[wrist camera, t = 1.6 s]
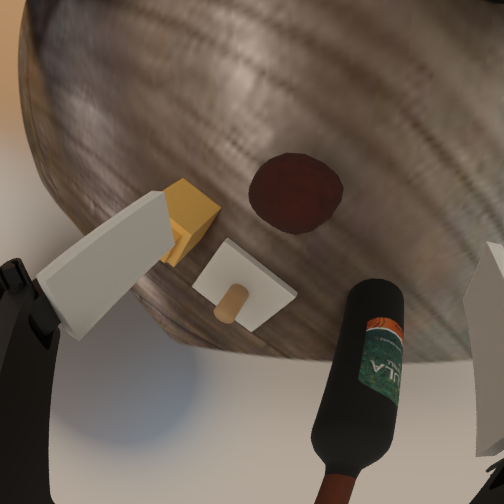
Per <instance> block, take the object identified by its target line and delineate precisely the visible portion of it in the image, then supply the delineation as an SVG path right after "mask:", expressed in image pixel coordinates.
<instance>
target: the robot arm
mask: <svg viewBox="0 0 504 504" xmlns="http://www.w3.org/2000/svg"><path fill="white" fill-rule="evenodd" d="M174 245H175V242H174V237H173V232H172V228H171V223H170V218H169V213H168V208H167V203H166V198H165V192H160V191H151V192H149V193H148V194H146V195H144V196H143V197H141V198H140V199H138V200H137V201H135V202H134V203H132V204H131V205H129V206H128V207H126V208H125V209H123V210H122V211H120V212H119V213H117V214H116V215H114V216H113V217H111V218H110V219H109V220H107V221H106V222H104V223H103V224H102V225H100V226H99V227H97V228H96V229H95V230H93V231H92V232H90V233H89V234H88V235H86V236H85V237H84V238H82V239H81V240H80V241H78V242H77V243H76V244H74V245H73V246H72V247H70V248H69V249H68V250H67V251H65V252H64V253H63V254H61V255H60V256H59V257H58V258H56V259H55V260H54V261H53V262H52V263H50V264H49V265H48V266H47V267H46V268H44V269H43V270H42V271H41V272H39V273H38V274H37V275H36V279H34V280H33V281H31V279H30V277H29V275H28V273H27V271H26V269H25V267H24V265H23V263H22V260H21V259H20V258H14V259H12V260H9V261H7V262H6V263H4V264H3V265H2V266H1V267H0V504H55V503H54V502H53V501H52V498H51V495H50V485H49V459H48V458H49V457H48V447H49V418H50V405H51V393H52V384H53V376H54V369H55V362H56V356H57V350H58V344H59V339H60V330H59V328H58V325H59V324H60V323H62V325H63V326H64V328H65V329H66V331H67V333H68V334H70V335H71V336H73V337H74V338H76V339H77V340H79V341H80V340H81V338H83V337H84V335H85V334H86V333H87V332H88V331H89V330H90V329H91V328H92V327H93V326H94V325H95V324H96V323H97V322H98V321H99V320H100V319H101V317H102V316H103V315H104V314H105V313H106V312H107V311H108V310H109V309H110V308H111V307H112V306H113V305H114V304H115V303H116V302H117V301H118V300H119V299H120V298H121V297H122V296H123V295H124V294H125V293H126V292H127V291H128V290H129V289H130V288H131V287H132V286H133V285H134V284H135V283H136V282H137V281H138V280H139V279H140V278H141V277H142V276H143V275H144V274H145V273H146V272H147V271H148V270H149V269H150V268H151V267H152V266H153V265H154V264H155V263H157V262H158V261H159V260H160V259H161V258H162V257H163V256H164V255H165V254H166V253H167V252H168V251H169V250H170V249H171V248H172V247H173V246H174ZM462 300H463V305H464V309H465V314H466V319H467V325H468V330H469V336H470V343H471V350H472V358H473V366H474V376H475V389H476V408H477V409H476V410H477V438H476V440H477V441H476V457H480V456H494V455H497V454H498V453H500V452H501V451H502V450H504V248H503V246H502V245H500V244H496V243H492V242H488V241H486V243H485V246H484V249H483V252H482V254H481V257H480V260H479V262H478V265H477V267H476V270H475V272H474V274H473V277H472V279H471V281H470V284H469V286H468V288H467V290H466V293H465V295H464V297H463V299H462ZM495 468H496V469H495ZM493 469H495V471H494V472H493V473H492V474H491V475H490V478H489V479H488V480H487V482H486V483H485V485H484V486H483V487H482V488H481V490H480V491H479V493H478V494H477V495H476V496H475V497H474V499H473V500H472V501H471V502H470V503H469V504H504V458H503V459H501V460H500V461H498V462H496V463H495V464H493V465H491V466H490V467H489V468H488V469H487V470H486V472H489V471H491V470H493Z"/></svg>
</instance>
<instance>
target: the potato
mask: <svg viewBox="0 0 504 504" xmlns="http://www.w3.org/2000/svg"><path fill="white" fill-rule="evenodd" d="M343 188H344V187H343V185H342V183H341V181H340V179H339V177H338V175H337V174H336V173H335V172H334V171H332V170H331V169H330V168H329V167H328V166H327V165H326V164H324V163H322V162H320V161H318V160H316V159H314V158H312V157H310V156H308V155H306V154H297V153H284V154H282V155H279V156H277V157H274V158H272V159H270V160H268V161H267V162H266V163H265V164H263V165H262V166H261V167H260V168H259V170H258V171H257V173H256V174H255V176H254V178H253V180H252V183H251V185H250V188H249V194H248V195H249V202H250V204H251V206H252V208H253V209H254V211H255V212H256V213H257V215H258V216H259V217H261V218H262V219H263V220H265V221H266V222H267V223H269V224H270V225H272V226H273V227H275V228H277V229H279V230H281V231H283V232H286V233H290V234H294V235H296V234H301V233H306V232H310V231H313V230H314V229H315V228H317V227H318V226H319V225H321V224H322V223H324V222H325V221H326V220H328V219H329V218H330V217H331V216H332V214H333V213H334V211H335V209H336V208H337V206H338V205H339V203H340V202H341V199H342V194H343Z"/></svg>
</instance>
